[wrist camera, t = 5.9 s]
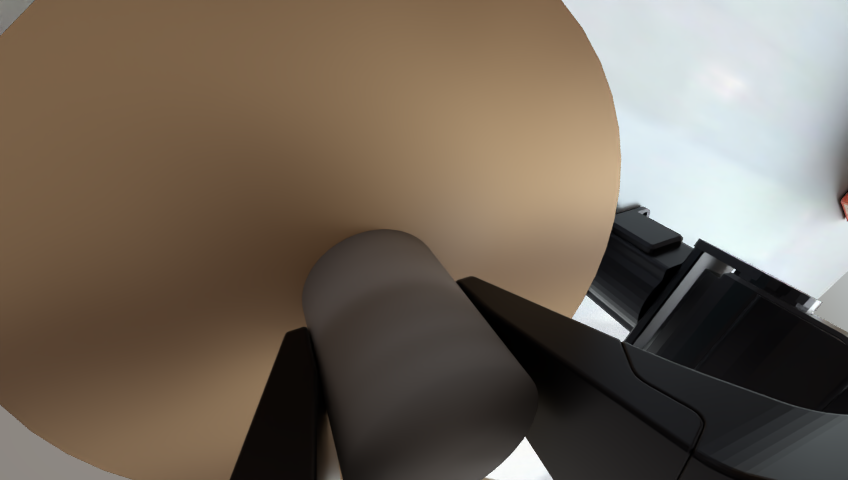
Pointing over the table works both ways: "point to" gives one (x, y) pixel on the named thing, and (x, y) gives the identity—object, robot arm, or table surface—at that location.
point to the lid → (291, 221)
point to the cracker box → (845, 205)
